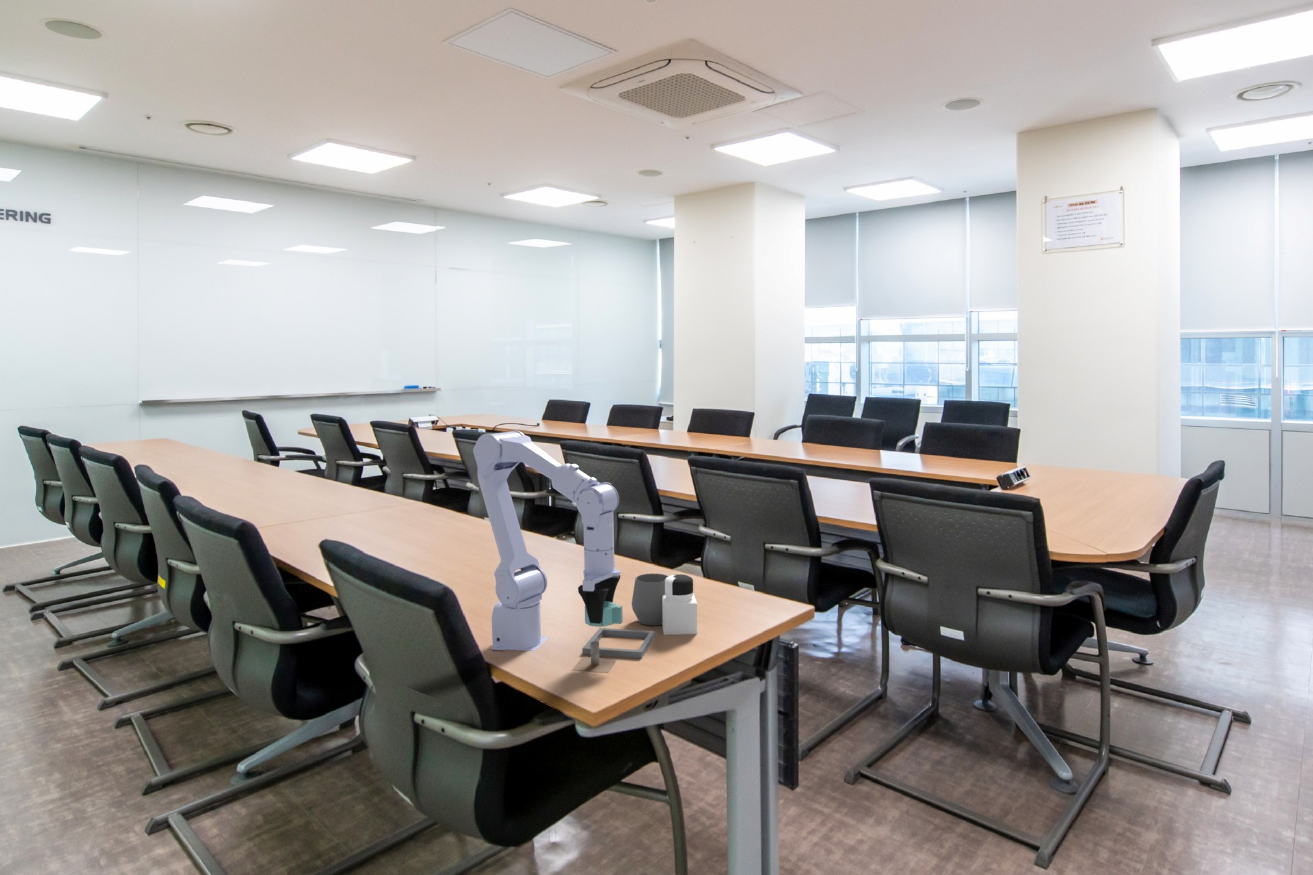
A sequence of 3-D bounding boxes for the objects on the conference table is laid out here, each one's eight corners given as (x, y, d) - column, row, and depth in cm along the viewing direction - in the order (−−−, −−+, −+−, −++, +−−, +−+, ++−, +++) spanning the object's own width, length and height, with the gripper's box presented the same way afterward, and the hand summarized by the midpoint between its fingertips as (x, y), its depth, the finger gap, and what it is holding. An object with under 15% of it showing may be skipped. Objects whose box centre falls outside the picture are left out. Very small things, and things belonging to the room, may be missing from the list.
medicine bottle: (694, 625, 168) (694, 571, 167) (697, 636, 160) (697, 580, 159) (662, 626, 167) (661, 572, 166) (663, 637, 160) (662, 581, 159)
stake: (571, 673, 142) (571, 648, 142) (583, 659, 149) (582, 635, 148) (607, 675, 140) (607, 650, 140) (618, 661, 147) (617, 637, 147)
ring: (582, 625, 144) (581, 609, 144) (591, 616, 150) (590, 600, 149) (617, 627, 143) (617, 611, 142) (625, 618, 148) (625, 602, 148)
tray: (582, 656, 150) (582, 648, 150) (600, 636, 162) (599, 627, 161) (641, 661, 147) (641, 652, 147) (655, 639, 159) (655, 631, 159)
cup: (637, 630, 165) (636, 585, 164) (627, 617, 174) (626, 574, 173) (679, 626, 167) (679, 581, 166) (667, 613, 176) (666, 570, 175)
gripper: (608, 557, 137) (609, 631, 138) (629, 540, 151) (630, 606, 152) (571, 556, 139) (572, 629, 140) (595, 538, 153) (596, 605, 154)
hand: (600, 617), depth 146 cm, fingers closed on ring, 6 cm apart
